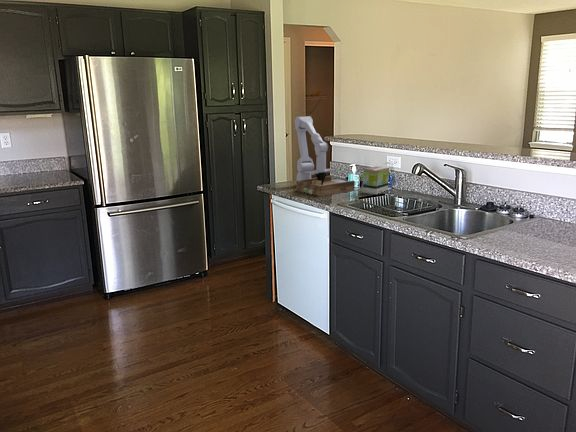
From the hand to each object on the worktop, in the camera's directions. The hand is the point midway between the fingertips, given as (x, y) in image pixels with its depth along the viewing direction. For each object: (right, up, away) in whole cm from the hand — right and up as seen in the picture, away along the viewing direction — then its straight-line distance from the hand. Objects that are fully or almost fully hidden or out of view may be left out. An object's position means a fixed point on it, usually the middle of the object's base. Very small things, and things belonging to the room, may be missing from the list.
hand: (320, 185), depth 312 cm
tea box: (+33, -4, -1) cm, 33 cm away
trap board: (+3, -3, +3) cm, 6 cm away
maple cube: (-3, -1, -2) cm, 4 cm away
